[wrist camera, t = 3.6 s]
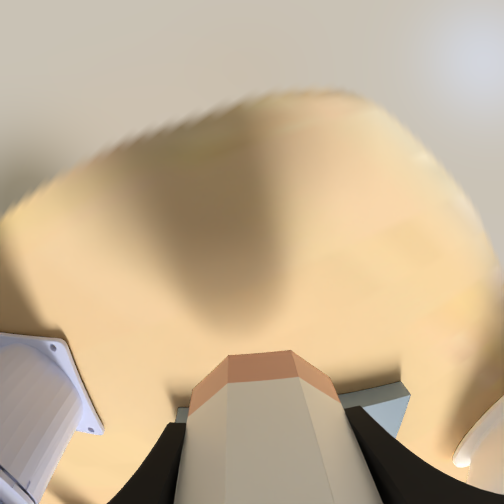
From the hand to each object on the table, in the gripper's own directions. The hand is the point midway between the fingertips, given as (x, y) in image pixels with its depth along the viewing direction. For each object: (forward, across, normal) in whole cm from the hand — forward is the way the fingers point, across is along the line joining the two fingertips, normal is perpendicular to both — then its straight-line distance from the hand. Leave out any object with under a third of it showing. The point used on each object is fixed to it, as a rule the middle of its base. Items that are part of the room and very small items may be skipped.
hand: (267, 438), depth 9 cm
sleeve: (+2, 0, 0) cm, 2 cm away
